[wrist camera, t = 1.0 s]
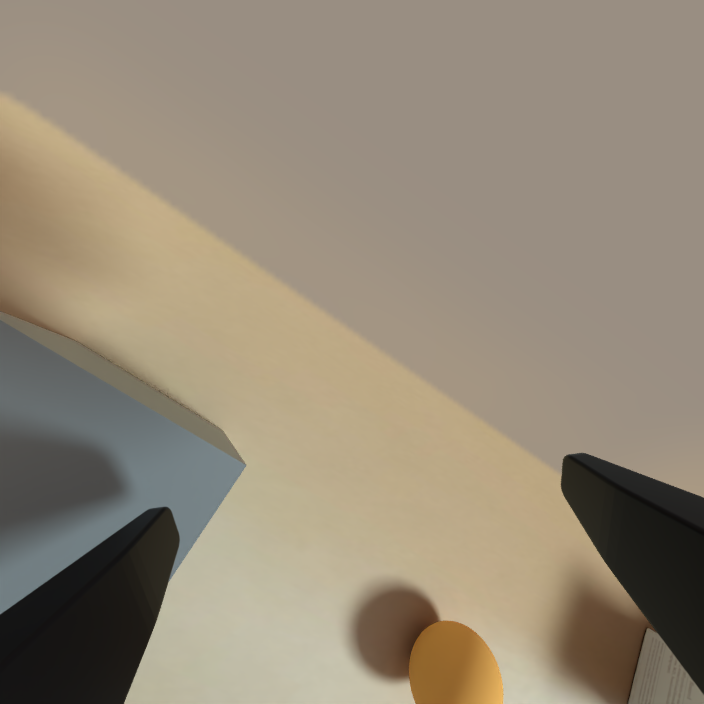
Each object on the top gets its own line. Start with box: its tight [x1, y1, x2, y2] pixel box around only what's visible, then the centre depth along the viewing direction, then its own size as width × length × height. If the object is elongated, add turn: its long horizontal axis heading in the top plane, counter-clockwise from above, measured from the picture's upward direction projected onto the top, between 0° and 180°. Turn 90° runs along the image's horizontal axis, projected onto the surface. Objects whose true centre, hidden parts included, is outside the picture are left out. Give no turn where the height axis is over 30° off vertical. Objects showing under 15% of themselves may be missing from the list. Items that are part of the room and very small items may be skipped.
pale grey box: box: [0, 311, 246, 614], centre depth 12 cm, size 8×8×9 cm
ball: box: [409, 621, 503, 704], centre depth 19 cm, size 5×5×5 cm
